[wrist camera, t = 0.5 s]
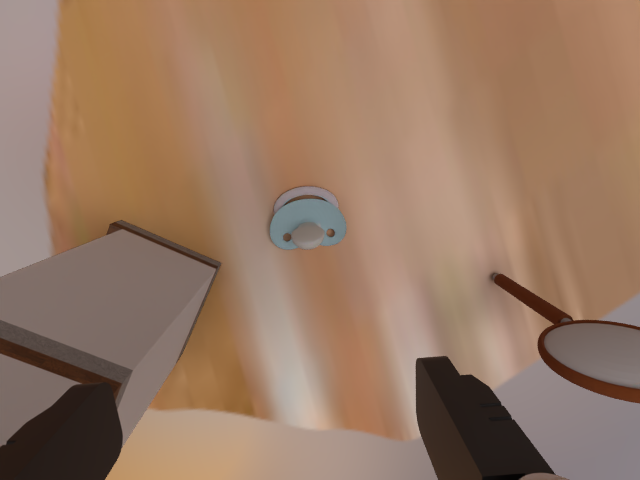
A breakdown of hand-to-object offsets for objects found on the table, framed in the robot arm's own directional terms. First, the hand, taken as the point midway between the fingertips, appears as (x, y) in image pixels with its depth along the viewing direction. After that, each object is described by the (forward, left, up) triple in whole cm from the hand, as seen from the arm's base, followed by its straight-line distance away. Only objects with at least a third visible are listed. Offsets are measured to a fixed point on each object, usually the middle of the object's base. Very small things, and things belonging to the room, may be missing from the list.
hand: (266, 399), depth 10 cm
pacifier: (0, +1, -28) cm, 28 cm away
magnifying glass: (+6, +21, -28) cm, 35 cm away
